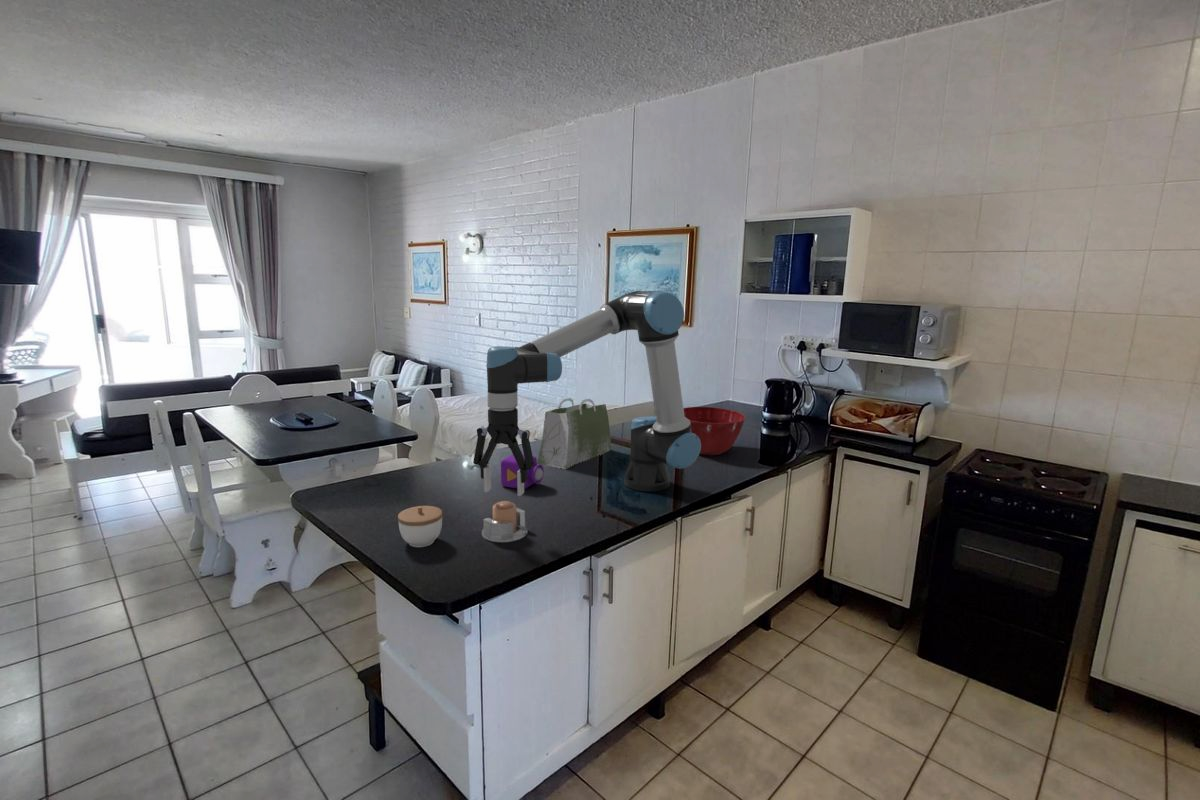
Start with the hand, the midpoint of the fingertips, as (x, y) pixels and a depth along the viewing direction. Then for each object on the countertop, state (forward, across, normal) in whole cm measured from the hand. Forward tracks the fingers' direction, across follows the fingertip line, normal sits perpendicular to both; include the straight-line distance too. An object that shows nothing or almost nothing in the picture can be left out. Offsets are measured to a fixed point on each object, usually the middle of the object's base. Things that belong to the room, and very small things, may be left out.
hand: (504, 492), depth 148 cm
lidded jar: (+12, +18, +11) cm, 24 cm away
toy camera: (+12, +9, -36) cm, 39 cm away
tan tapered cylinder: (+11, 0, 0) cm, 11 cm away
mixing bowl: (+12, -47, -96) cm, 108 cm away
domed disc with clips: (+11, 0, 0) cm, 11 cm away
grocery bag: (+12, +2, -72) cm, 73 cm away
